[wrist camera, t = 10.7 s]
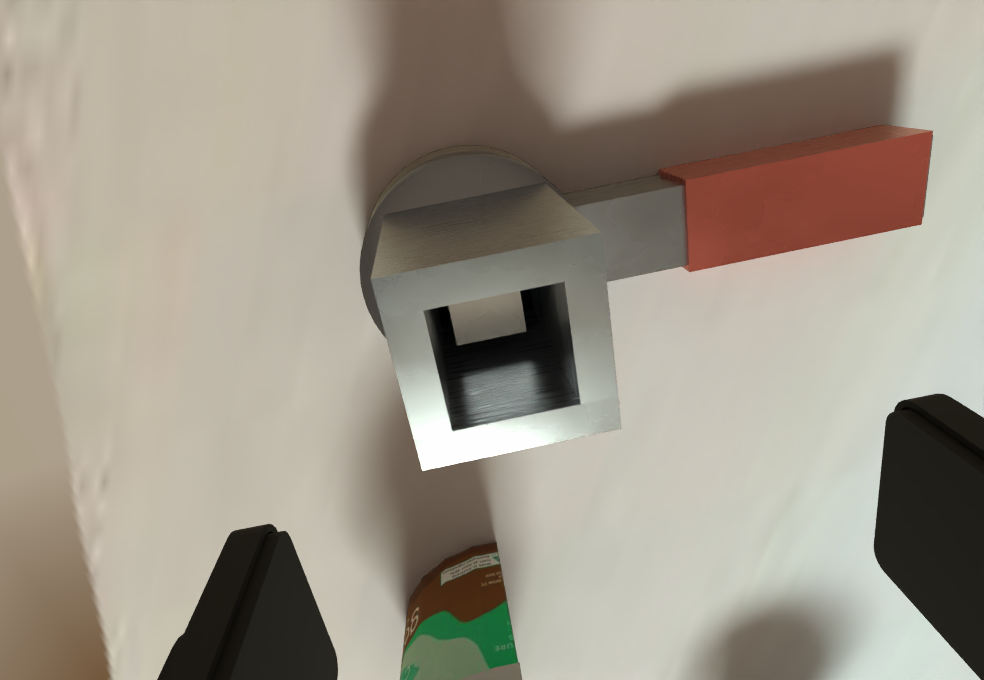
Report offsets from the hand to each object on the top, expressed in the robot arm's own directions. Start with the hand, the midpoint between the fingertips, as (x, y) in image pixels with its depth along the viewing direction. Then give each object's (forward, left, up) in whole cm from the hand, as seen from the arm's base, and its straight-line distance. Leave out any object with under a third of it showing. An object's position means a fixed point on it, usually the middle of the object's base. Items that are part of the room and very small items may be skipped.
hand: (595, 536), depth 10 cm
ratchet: (-6, 0, -16) cm, 17 cm away
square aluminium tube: (+1, 0, -13) cm, 13 cm away
